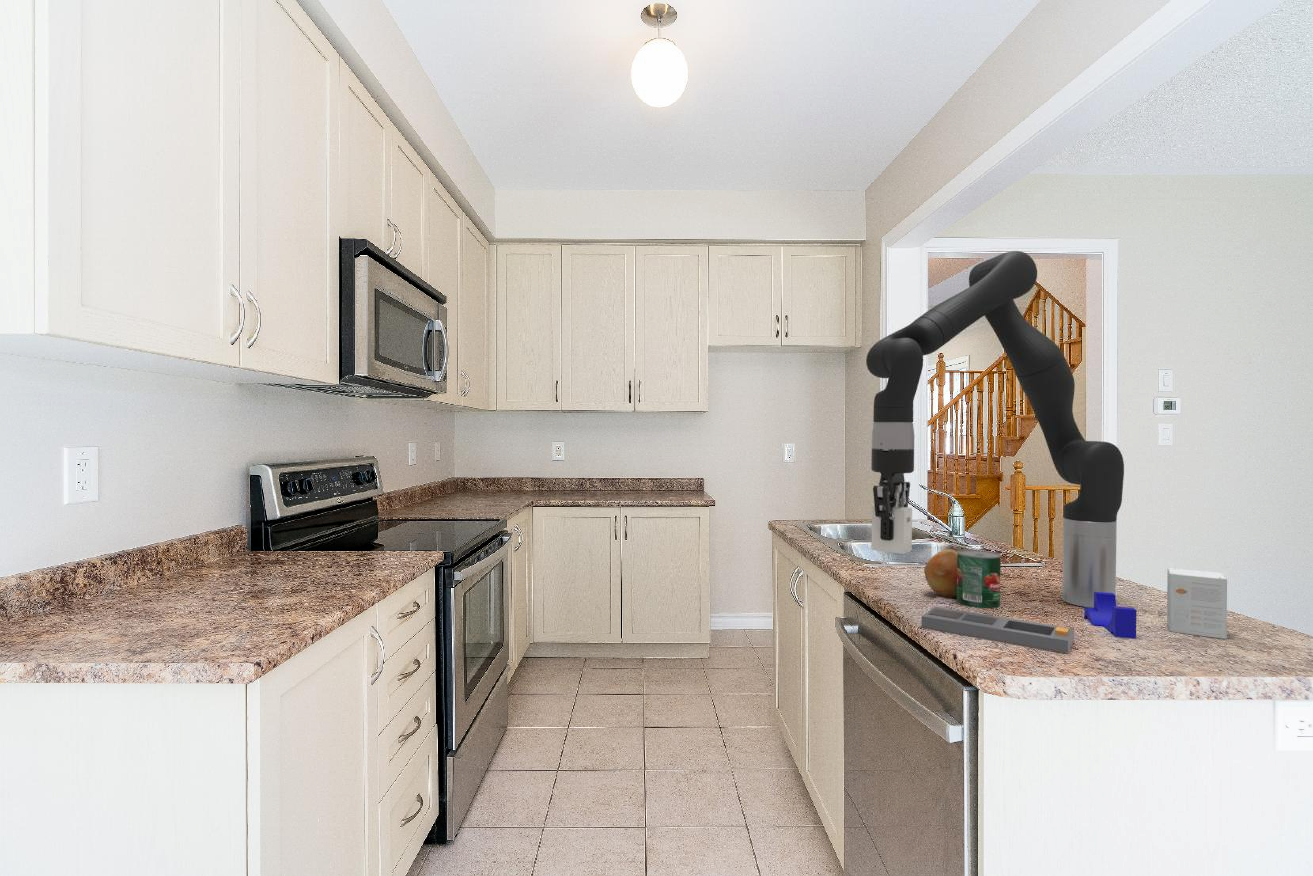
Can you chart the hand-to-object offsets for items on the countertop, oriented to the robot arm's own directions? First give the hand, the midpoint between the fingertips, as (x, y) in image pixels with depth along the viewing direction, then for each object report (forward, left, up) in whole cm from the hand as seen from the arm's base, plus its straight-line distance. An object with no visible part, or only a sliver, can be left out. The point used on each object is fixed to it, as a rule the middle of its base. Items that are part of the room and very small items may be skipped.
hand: (891, 537), depth 126 cm
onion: (-25, +4, -16) cm, 30 cm away
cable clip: (-16, +33, -16) cm, 40 cm away
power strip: (+1, +18, -15) cm, 24 cm away
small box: (-26, +45, -16) cm, 54 cm away
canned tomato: (-19, +11, -16) cm, 27 cm away
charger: (0, 0, -2) cm, 2 cm away
